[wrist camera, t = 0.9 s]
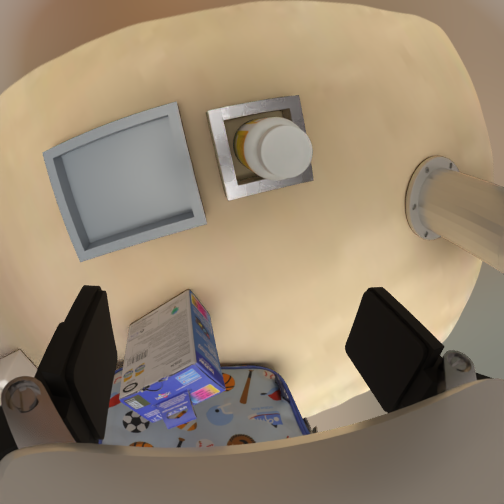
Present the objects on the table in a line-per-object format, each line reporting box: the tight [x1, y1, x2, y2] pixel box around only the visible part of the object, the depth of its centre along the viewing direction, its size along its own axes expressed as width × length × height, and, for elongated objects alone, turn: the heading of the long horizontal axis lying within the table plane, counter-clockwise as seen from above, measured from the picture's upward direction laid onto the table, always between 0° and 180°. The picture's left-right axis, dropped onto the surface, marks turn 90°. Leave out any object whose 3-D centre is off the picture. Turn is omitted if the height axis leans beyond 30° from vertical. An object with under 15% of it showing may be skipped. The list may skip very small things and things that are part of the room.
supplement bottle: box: [233, 117, 313, 180], centre depth 24 cm, size 5×5×10 cm
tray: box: [43, 102, 207, 262], centre depth 26 cm, size 14×12×3 cm
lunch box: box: [99, 365, 318, 448], centre depth 30 cm, size 28×10×22 cm, turn 83°
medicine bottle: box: [0, 350, 37, 406], centre depth 28 cm, size 7×7×12 cm
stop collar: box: [206, 95, 313, 201], centre depth 27 cm, size 9×9×2 cm
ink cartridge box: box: [119, 290, 226, 429], centre depth 28 cm, size 10×6×14 cm, turn 119°
